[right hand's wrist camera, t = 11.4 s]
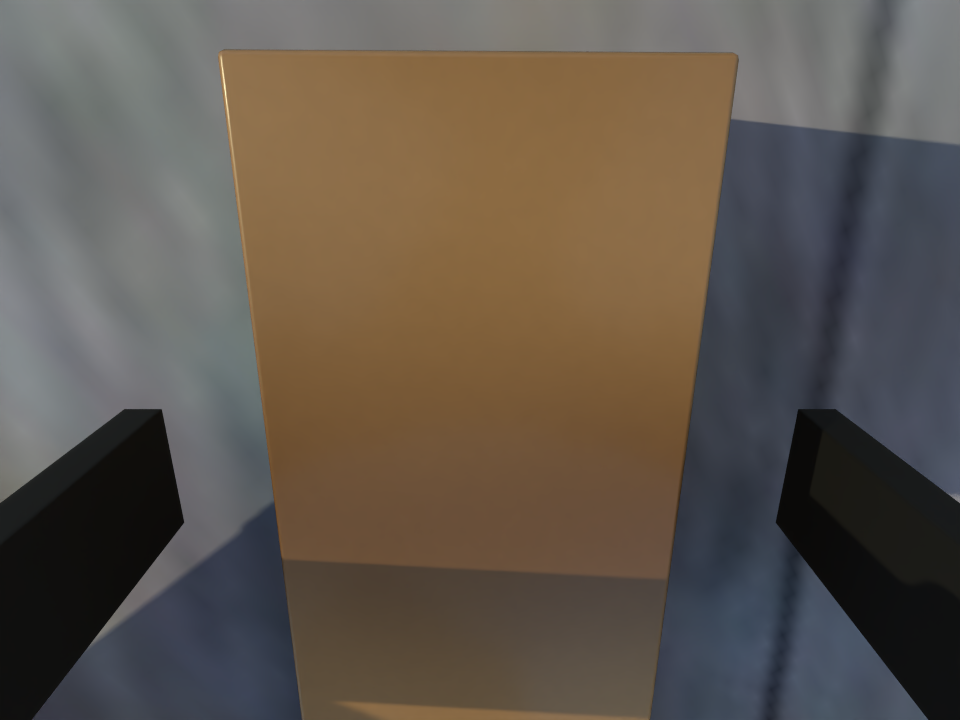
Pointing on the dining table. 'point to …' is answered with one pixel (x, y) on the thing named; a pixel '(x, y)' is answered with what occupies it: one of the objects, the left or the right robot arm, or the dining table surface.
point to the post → (477, 363)
